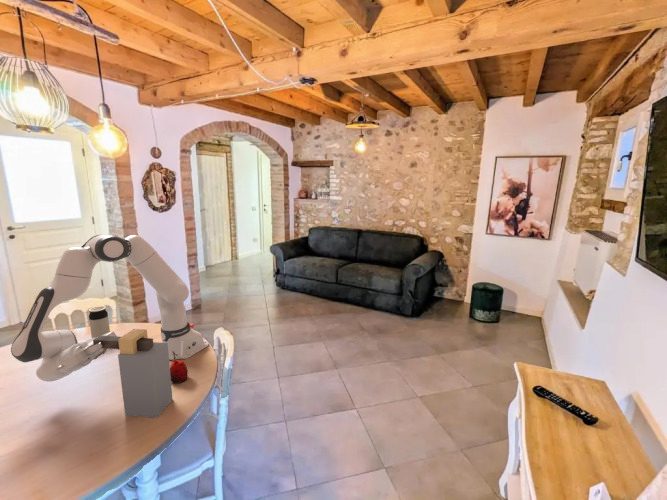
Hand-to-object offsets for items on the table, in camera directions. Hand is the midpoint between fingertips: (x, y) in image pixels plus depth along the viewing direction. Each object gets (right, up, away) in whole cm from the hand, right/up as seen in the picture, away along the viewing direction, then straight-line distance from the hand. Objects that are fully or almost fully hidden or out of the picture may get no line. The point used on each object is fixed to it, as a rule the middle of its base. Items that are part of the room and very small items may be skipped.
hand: (107, 340), depth 117 cm
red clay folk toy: (+16, -23, +22) cm, 35 cm away
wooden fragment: (-36, -19, +37) cm, 55 cm away
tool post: (+13, -26, +4) cm, 30 cm away
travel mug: (-40, -15, +53) cm, 69 cm away
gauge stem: (+6, -2, 0) cm, 7 cm away
